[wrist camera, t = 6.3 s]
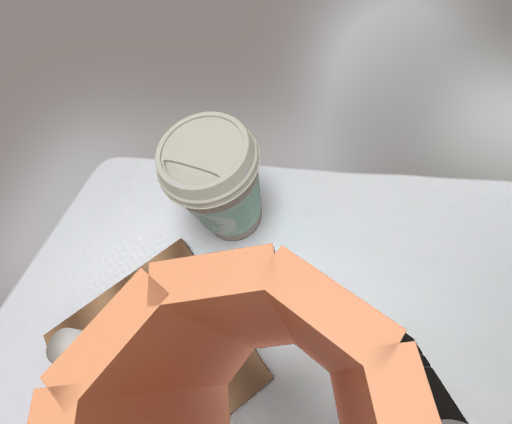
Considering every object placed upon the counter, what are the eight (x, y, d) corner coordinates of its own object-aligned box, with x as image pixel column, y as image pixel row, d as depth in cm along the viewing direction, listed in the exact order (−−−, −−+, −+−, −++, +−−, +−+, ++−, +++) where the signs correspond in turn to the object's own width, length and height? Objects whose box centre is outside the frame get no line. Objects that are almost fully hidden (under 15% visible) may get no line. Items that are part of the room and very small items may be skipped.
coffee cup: (184, 211, 36) (131, 143, 25) (246, 170, 37) (219, 90, 27) (222, 269, 32) (177, 219, 22) (290, 222, 33) (279, 152, 23)
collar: (337, 318, 14) (378, 226, 5) (375, 491, 11) (588, 879, 3) (208, 335, 15) (55, 277, 6) (213, 504, 12) (-62, 864, 3)
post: (185, 242, 34) (126, 182, 23) (274, 378, 27) (248, 381, 16) (52, 336, 32) (-81, 317, 21) (110, 513, 25) (-48, 623, 14)
